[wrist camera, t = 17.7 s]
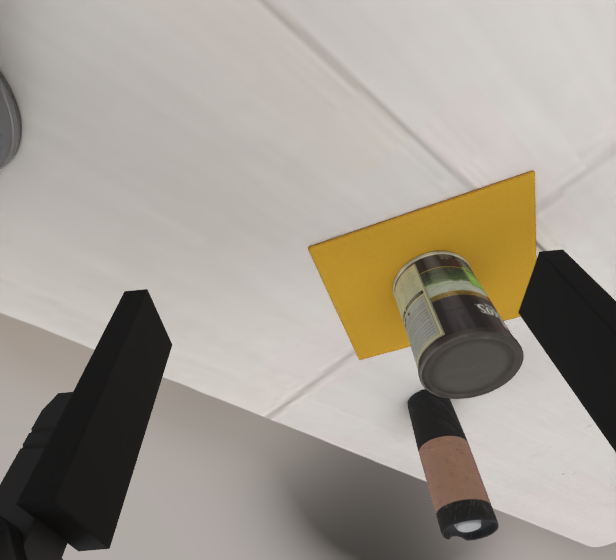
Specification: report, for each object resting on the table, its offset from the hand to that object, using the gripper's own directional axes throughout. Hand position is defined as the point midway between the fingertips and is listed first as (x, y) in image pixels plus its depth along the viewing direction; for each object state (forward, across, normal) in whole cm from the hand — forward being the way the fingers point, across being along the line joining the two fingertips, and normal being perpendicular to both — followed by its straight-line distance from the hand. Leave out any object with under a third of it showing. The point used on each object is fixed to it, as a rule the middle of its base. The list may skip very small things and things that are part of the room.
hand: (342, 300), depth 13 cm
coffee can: (+28, +14, -24) cm, 39 cm away
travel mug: (+28, +17, -50) cm, 60 cm away
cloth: (+28, +14, -24) cm, 40 cm away
